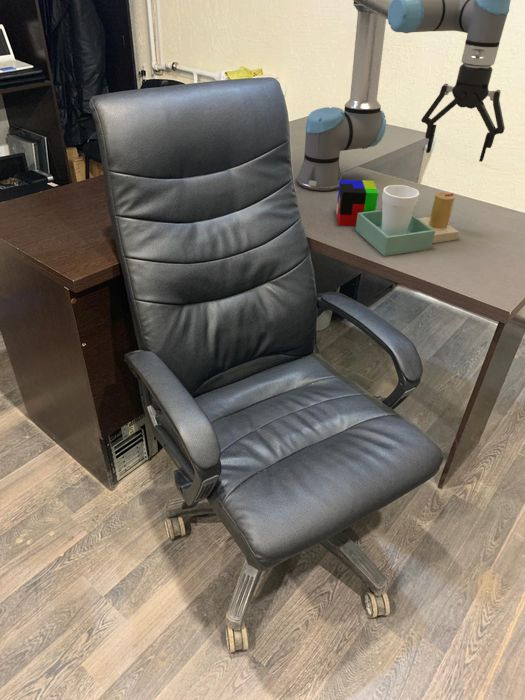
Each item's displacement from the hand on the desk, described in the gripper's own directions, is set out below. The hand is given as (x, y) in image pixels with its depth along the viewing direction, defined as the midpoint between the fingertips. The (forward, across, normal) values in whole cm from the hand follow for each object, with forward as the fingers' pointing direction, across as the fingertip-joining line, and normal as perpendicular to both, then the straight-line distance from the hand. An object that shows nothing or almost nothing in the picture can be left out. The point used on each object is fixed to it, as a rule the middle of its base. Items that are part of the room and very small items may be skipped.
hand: (454, 155), depth 138 cm
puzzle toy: (+22, -24, -2) cm, 33 cm away
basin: (+22, -10, -10) cm, 26 cm away
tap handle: (+19, 0, 0) cm, 19 cm away
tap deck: (+22, 0, -1) cm, 22 cm away
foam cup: (+21, -10, -10) cm, 26 cm away
